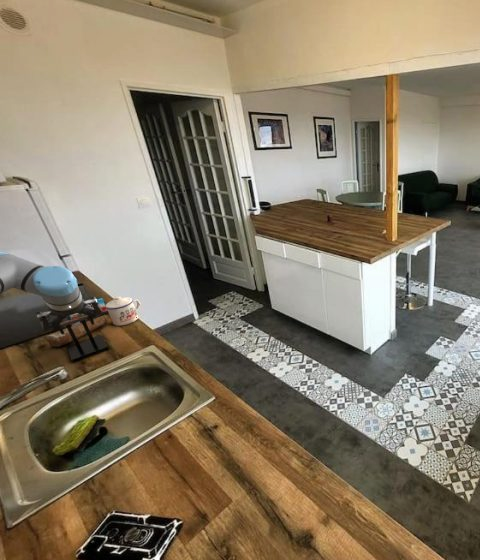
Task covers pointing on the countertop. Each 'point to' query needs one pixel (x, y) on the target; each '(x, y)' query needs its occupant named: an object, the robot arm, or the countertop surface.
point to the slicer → (85, 344)
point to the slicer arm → (74, 321)
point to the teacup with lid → (122, 310)
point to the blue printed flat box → (100, 303)
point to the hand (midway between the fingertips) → (77, 325)
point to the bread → (78, 330)
